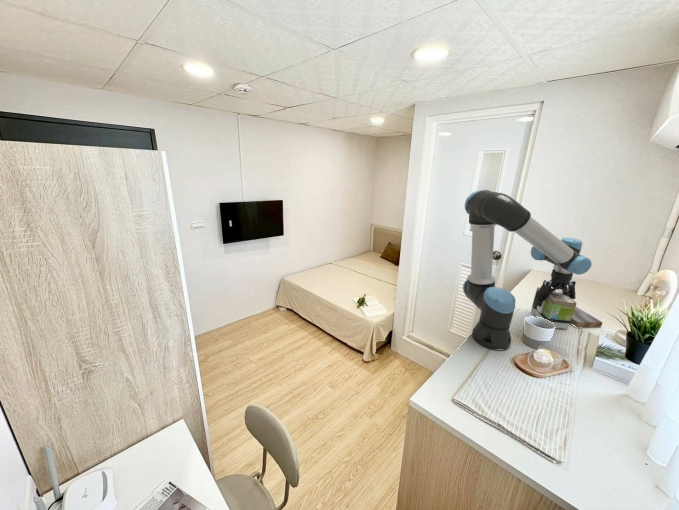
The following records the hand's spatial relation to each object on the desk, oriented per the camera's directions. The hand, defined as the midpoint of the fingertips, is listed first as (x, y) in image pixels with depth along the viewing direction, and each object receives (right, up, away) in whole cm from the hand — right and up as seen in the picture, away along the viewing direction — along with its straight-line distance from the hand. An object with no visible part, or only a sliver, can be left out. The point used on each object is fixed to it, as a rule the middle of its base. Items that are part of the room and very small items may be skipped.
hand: (550, 311), depth 129 cm
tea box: (0, -5, +2) cm, 5 cm away
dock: (+14, -4, +3) cm, 15 cm away
